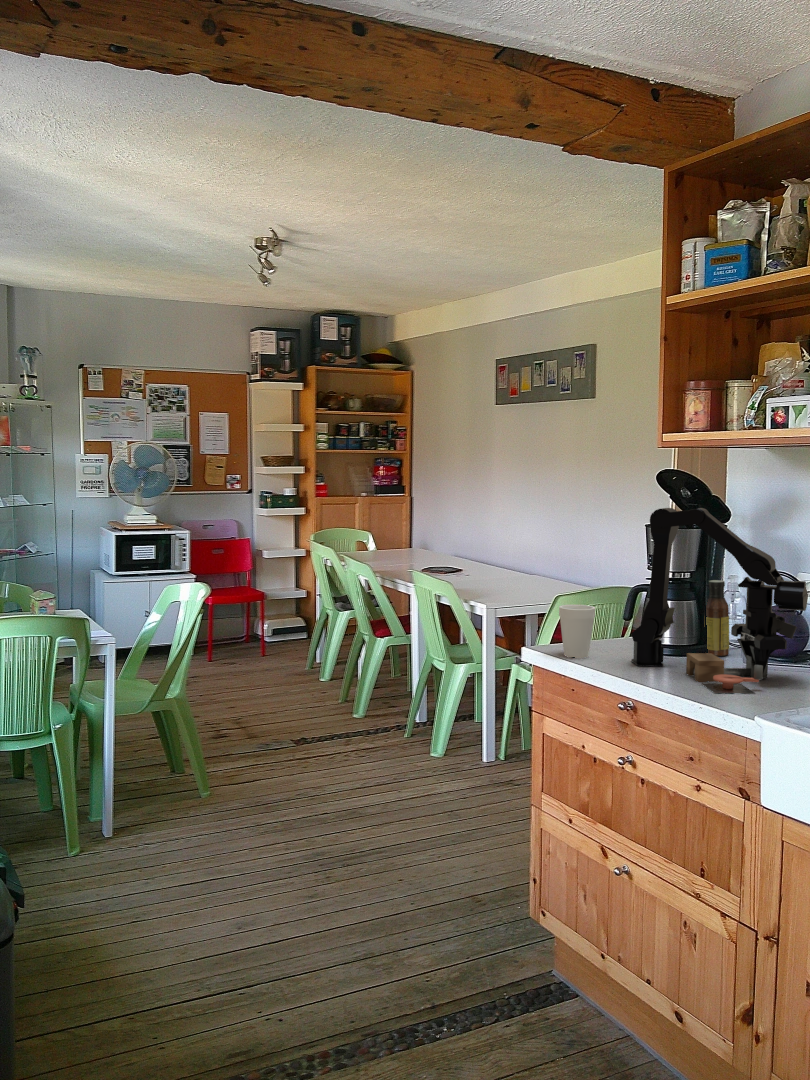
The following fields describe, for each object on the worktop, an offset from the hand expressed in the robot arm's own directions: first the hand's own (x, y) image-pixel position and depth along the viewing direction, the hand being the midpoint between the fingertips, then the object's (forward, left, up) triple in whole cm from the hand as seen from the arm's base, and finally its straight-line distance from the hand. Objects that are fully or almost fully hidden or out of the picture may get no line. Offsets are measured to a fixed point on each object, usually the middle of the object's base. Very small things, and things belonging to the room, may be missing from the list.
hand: (756, 671), depth 222 cm
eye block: (-12, 0, -1) cm, 13 cm away
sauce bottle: (0, +27, -2) cm, 27 cm away
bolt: (-6, 0, -1) cm, 7 cm away
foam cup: (-38, +25, -2) cm, 46 cm away
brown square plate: (-11, -11, -1) cm, 16 cm away
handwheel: (-9, -11, -1) cm, 14 cm away
